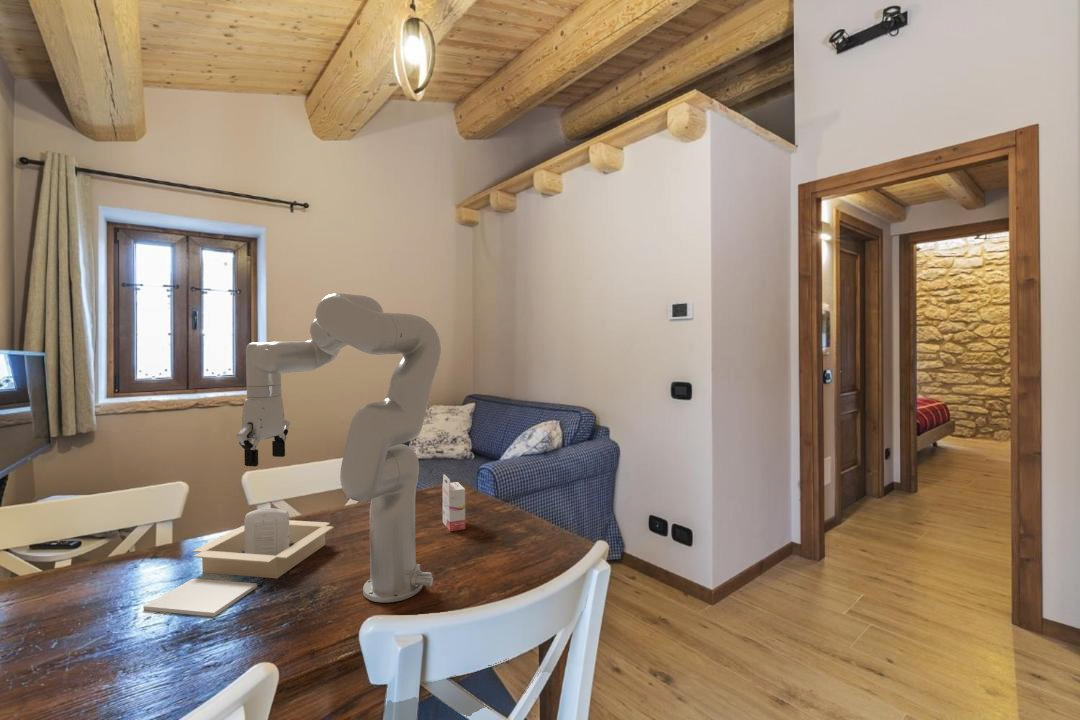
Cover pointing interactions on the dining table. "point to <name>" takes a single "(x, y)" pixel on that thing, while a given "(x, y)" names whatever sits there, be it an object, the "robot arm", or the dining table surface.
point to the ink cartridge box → (453, 505)
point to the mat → (201, 597)
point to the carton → (229, 560)
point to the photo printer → (266, 531)
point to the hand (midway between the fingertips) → (265, 461)
